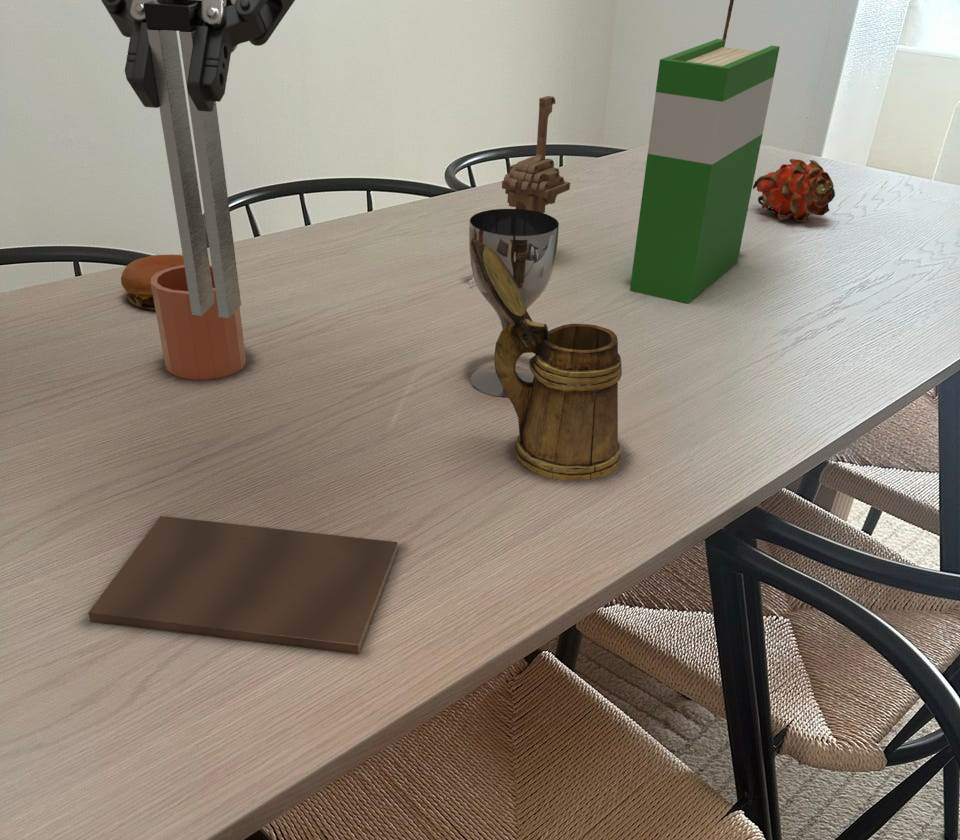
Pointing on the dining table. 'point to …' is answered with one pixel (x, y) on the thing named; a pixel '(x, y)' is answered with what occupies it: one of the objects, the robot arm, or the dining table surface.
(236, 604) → the board
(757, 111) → the hardback book
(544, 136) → the ostrich figurine
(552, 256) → the wine glass
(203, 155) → the tongs
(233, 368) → the holder
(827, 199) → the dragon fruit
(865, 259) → the dining table surface
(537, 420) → the wooden mug
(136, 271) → the burger
